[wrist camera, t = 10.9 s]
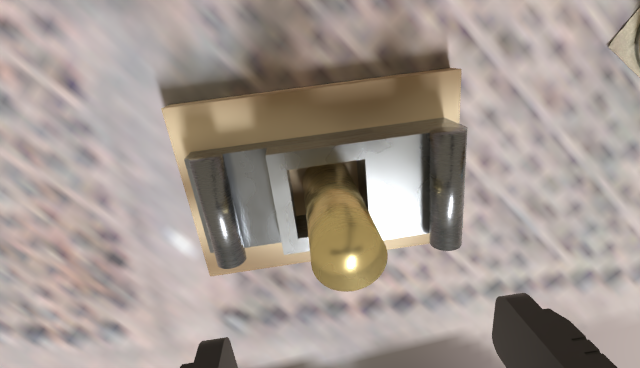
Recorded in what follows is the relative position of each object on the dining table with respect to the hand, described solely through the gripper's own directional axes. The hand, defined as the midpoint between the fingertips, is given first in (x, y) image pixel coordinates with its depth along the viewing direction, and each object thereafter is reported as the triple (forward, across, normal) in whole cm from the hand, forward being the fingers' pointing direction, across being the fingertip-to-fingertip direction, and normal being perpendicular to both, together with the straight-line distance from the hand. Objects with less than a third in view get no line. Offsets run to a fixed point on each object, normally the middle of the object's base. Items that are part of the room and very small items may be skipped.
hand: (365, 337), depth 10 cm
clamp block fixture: (+15, 0, 0) cm, 15 cm away
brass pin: (+13, 0, 0) cm, 13 cm away
